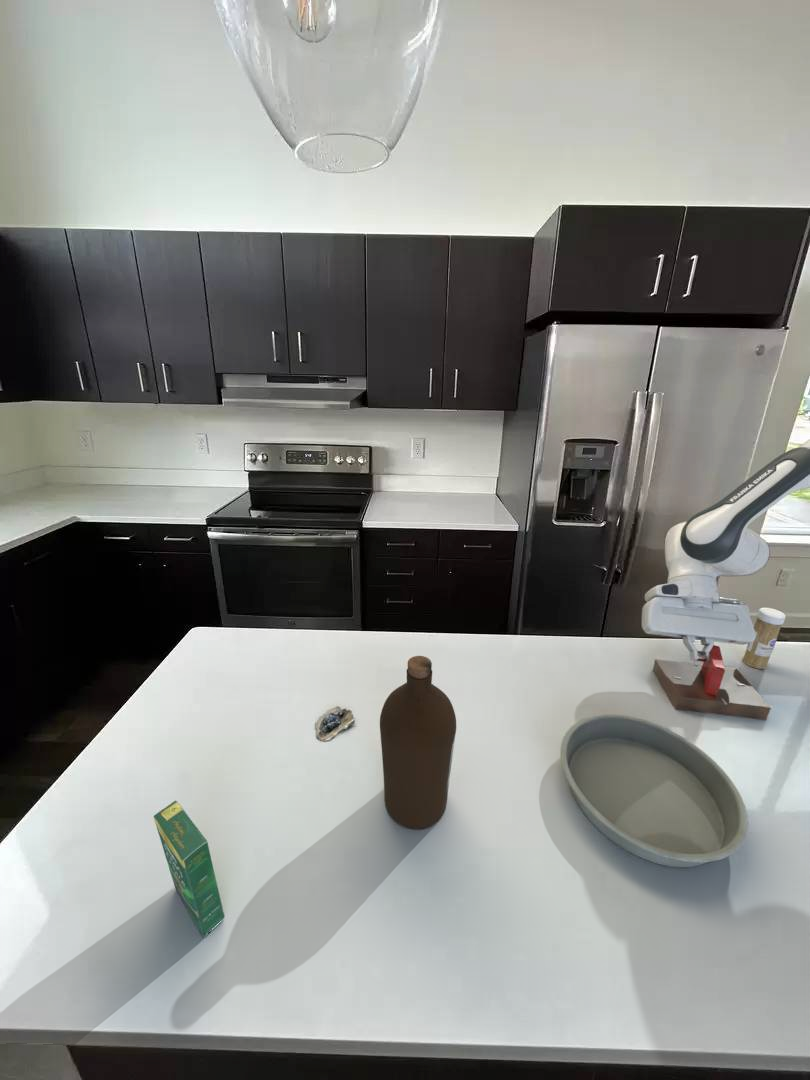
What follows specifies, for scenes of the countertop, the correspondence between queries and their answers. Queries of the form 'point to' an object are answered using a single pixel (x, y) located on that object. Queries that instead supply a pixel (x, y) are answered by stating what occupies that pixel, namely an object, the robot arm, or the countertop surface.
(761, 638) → the sprinkles bottle
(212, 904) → the coffee box
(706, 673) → the red block
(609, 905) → the countertop surface
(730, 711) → the base
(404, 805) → the olive oil
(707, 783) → the cake pan
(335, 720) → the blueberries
